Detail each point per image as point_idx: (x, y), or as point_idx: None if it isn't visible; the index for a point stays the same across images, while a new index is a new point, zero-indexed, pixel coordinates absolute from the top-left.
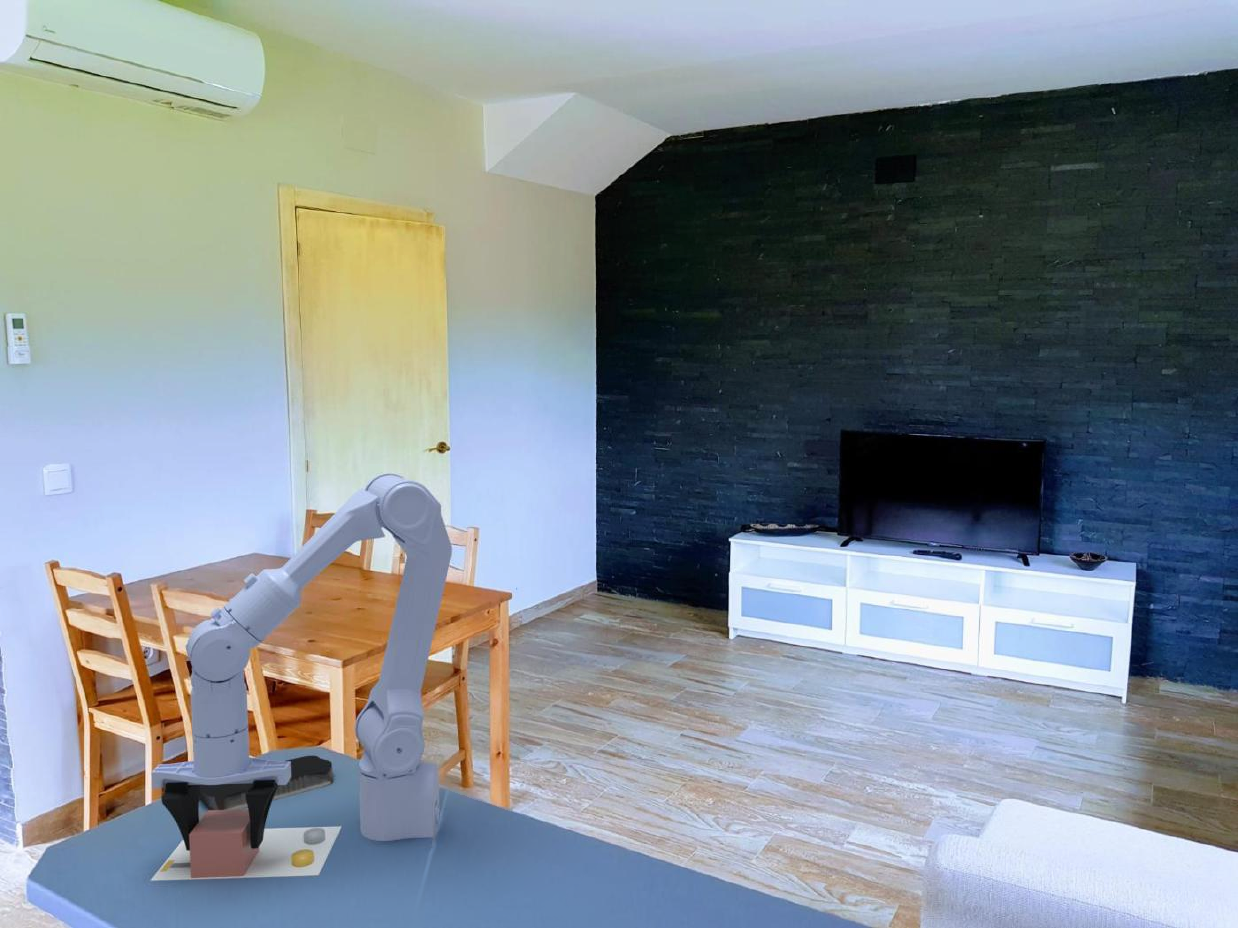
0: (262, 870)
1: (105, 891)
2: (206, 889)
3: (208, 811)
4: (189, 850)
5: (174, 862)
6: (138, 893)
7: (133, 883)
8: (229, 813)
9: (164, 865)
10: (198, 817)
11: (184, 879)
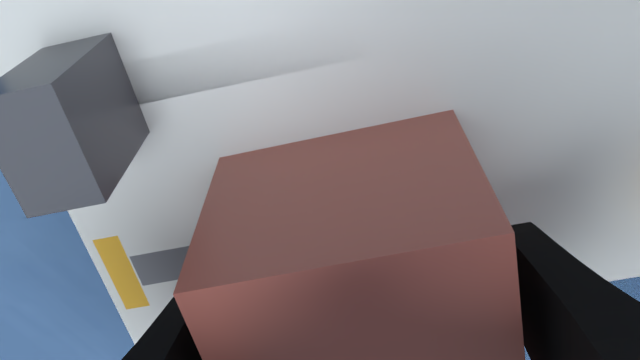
0: None
1: (4, 345)
2: None
3: (189, 306)
4: None
5: (129, 248)
6: (122, 341)
7: (52, 299)
8: (344, 306)
9: (109, 273)
10: (172, 352)
11: None
